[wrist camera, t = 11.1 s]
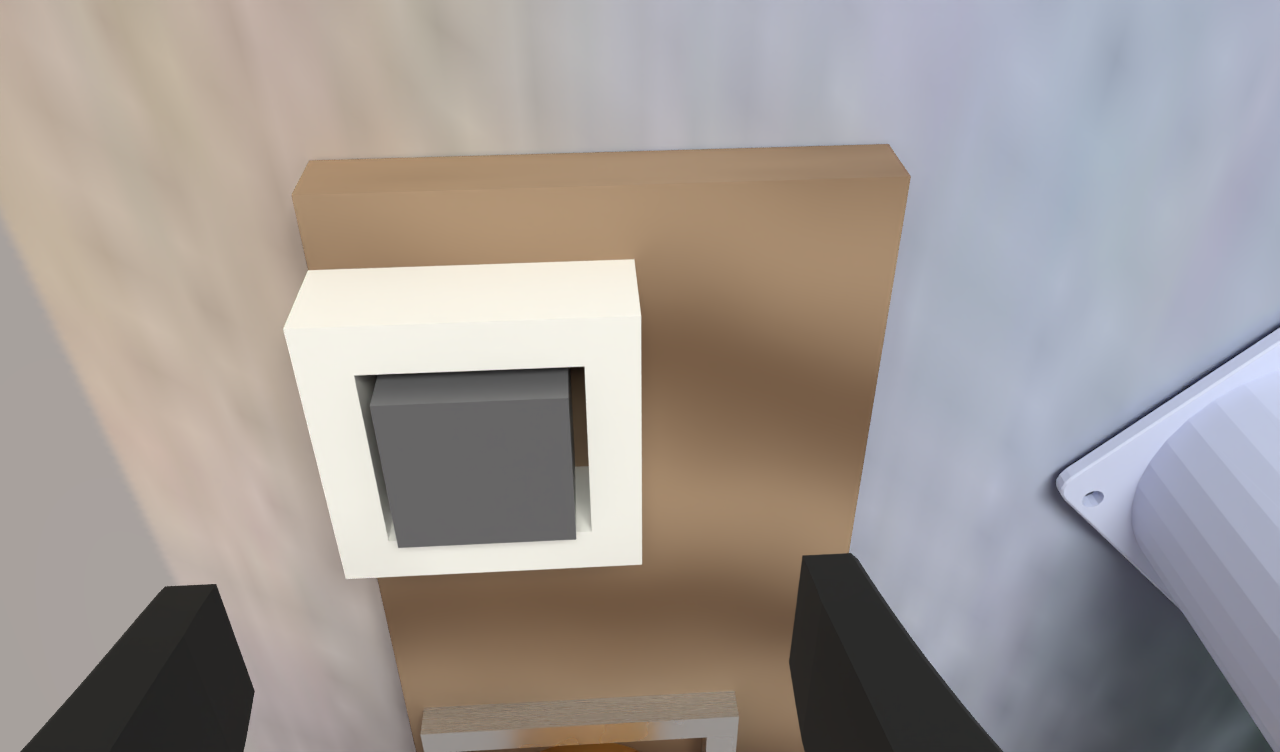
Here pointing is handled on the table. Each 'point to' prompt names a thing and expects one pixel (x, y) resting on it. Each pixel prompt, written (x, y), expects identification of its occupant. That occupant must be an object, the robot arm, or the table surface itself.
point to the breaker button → (477, 455)
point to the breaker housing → (471, 341)
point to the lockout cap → (591, 748)
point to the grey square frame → (584, 722)
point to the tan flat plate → (657, 407)
